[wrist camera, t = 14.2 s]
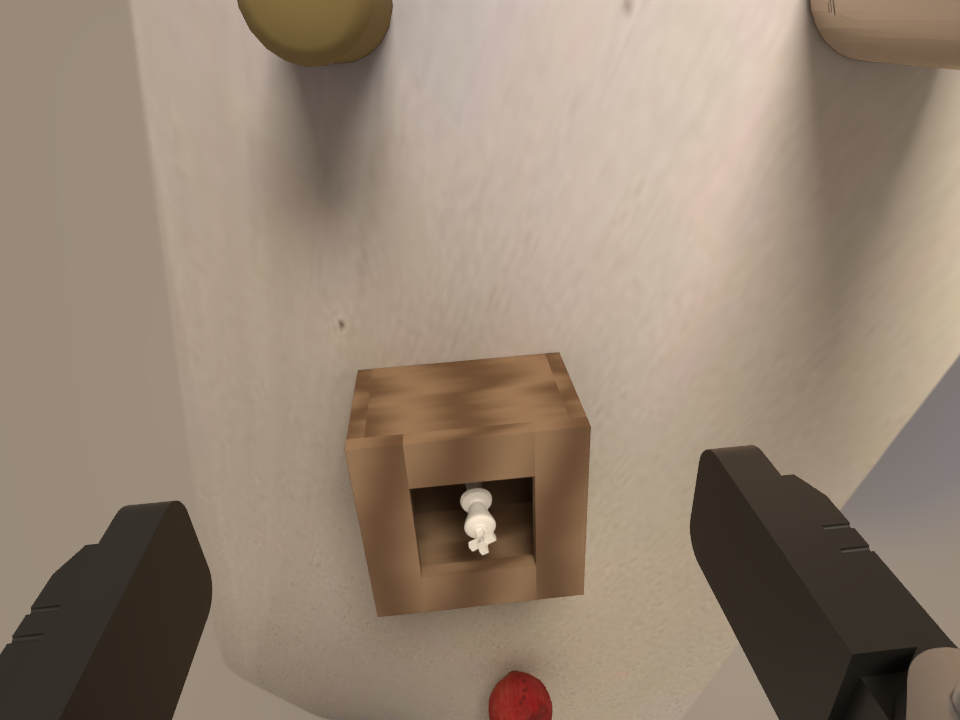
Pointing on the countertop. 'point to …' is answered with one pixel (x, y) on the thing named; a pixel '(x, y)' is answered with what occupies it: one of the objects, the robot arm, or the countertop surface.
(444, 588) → the drop box
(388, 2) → the cork
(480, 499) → the chess piece
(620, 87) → the countertop surface
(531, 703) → the red oval fruit
